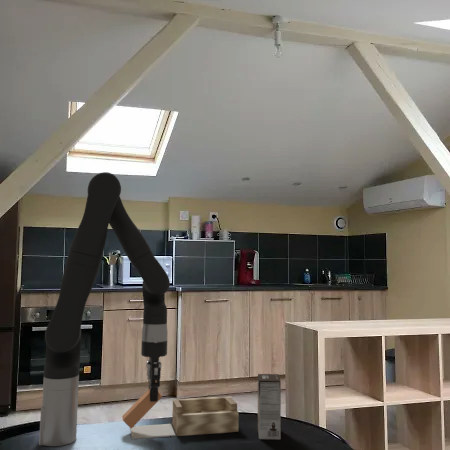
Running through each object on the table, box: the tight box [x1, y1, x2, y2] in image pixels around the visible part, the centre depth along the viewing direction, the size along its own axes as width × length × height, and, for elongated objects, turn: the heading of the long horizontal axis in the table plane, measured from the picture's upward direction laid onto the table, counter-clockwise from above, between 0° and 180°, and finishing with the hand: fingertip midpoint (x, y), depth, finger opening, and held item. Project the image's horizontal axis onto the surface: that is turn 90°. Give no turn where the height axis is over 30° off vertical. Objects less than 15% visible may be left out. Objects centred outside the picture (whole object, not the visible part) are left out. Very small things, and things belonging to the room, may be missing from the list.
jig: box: [171, 395, 240, 437], centre depth 139 cm, size 18×10×8 cm, turn 104°
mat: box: [129, 423, 176, 440], centre depth 135 cm, size 12×10×1 cm
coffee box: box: [257, 373, 282, 440], centre depth 135 cm, size 9×6×16 cm
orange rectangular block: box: [121, 388, 163, 429], centre depth 135 cm, size 12×4×4 cm
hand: (153, 398), depth 136 cm, fingers closed on orange rectangular block, 4 cm apart
